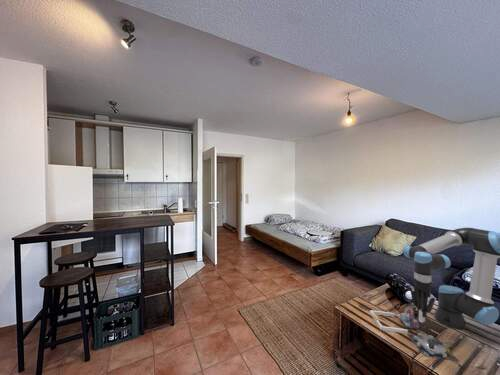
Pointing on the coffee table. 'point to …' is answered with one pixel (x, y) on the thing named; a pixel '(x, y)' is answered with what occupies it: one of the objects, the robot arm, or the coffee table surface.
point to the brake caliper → (408, 319)
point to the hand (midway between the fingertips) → (421, 321)
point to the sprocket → (432, 345)
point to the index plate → (426, 354)
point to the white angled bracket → (373, 314)
